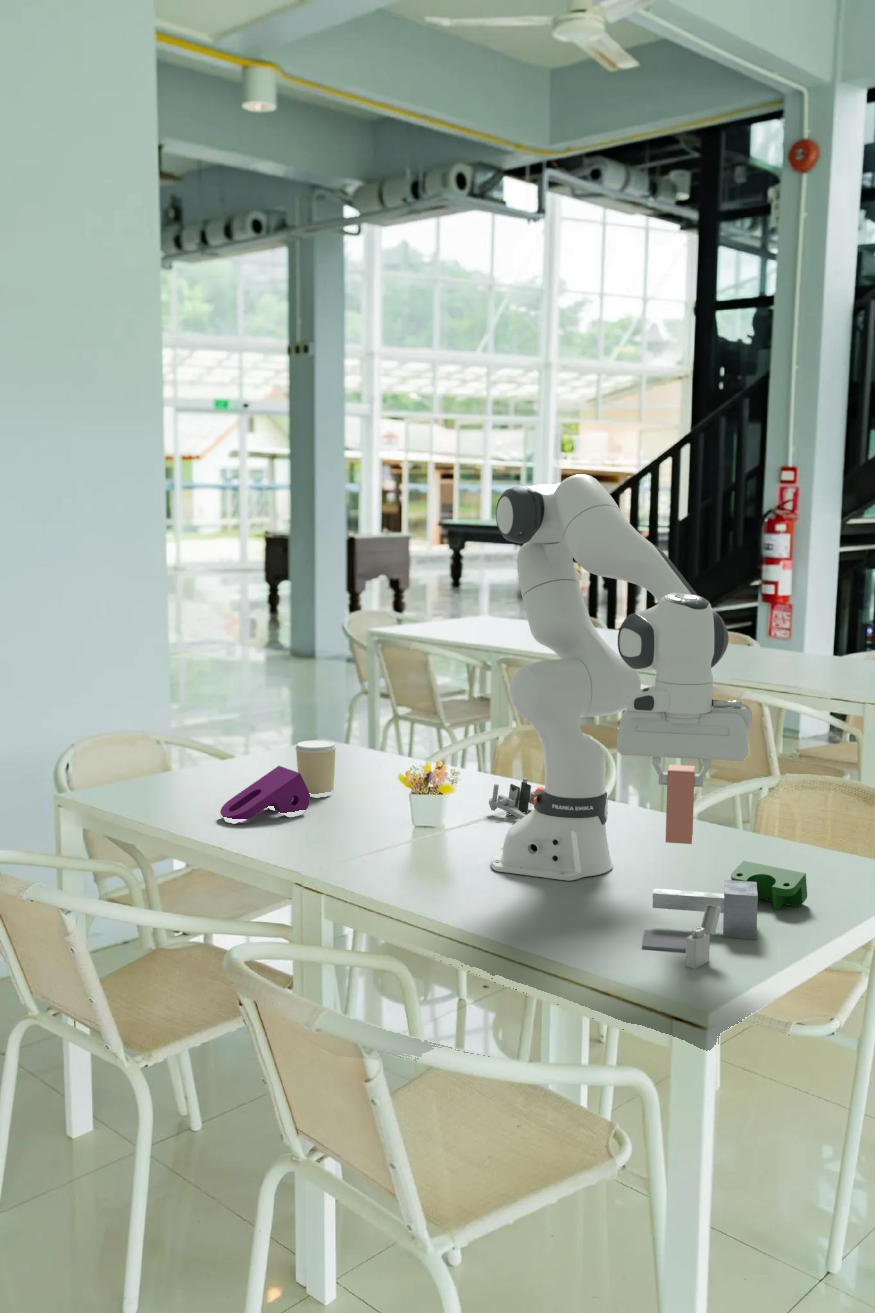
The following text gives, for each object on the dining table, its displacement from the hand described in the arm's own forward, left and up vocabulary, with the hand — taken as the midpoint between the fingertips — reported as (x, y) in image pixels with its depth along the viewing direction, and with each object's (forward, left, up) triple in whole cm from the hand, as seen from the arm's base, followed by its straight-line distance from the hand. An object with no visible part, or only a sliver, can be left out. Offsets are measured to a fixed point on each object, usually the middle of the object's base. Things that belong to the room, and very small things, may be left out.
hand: (680, 785), depth 187 cm
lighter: (+4, -14, -23) cm, 27 cm away
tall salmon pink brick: (0, 0, -9) cm, 9 cm away
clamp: (+14, +14, -23) cm, 31 cm away
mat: (-1, -8, -23) cm, 24 cm away
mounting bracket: (-90, +49, -23) cm, 105 cm away
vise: (+4, 0, -23) cm, 23 cm away
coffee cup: (-85, +70, -23) cm, 112 cm away
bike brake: (-32, +60, -24) cm, 72 cm away
